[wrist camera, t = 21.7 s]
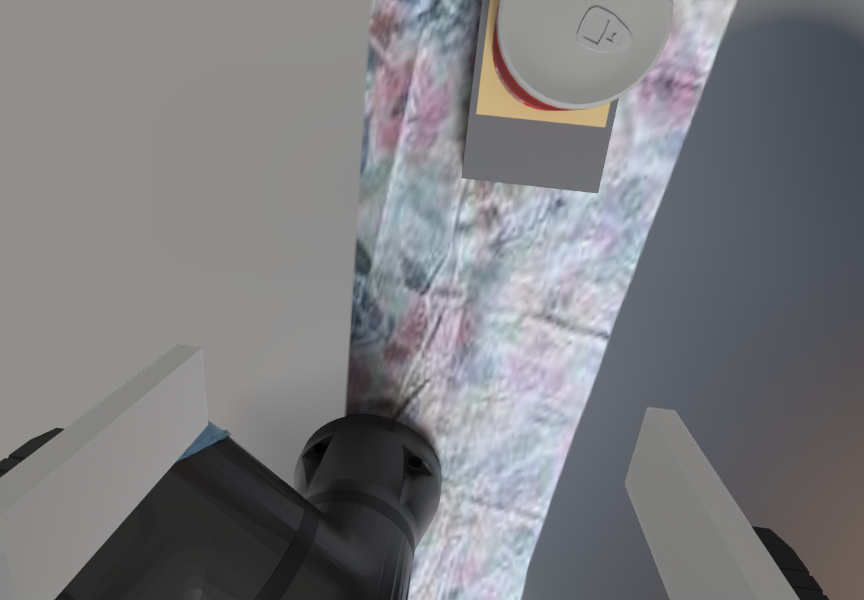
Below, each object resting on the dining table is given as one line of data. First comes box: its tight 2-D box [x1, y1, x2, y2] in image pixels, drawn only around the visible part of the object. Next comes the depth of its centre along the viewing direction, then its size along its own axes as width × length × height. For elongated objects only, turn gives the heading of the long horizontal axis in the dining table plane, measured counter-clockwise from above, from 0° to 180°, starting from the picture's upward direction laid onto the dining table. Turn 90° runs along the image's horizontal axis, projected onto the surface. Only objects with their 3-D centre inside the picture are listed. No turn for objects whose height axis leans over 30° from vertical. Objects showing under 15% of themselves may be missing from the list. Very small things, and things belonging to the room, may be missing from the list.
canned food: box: [492, 0, 673, 111], centre depth 27 cm, size 8×8×11 cm
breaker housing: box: [462, 0, 619, 193], centre depth 33 cm, size 24×10×5 cm, turn 174°
